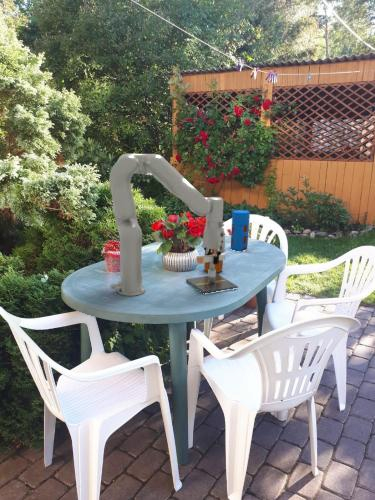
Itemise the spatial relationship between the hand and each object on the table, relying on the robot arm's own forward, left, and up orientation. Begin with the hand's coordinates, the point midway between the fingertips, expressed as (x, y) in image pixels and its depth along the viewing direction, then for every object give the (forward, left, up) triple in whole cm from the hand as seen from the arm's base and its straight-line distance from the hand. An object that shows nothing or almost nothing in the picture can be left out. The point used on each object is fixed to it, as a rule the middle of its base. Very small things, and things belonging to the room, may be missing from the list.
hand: (212, 262), depth 175 cm
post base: (0, 0, -11) cm, 11 cm away
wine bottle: (+12, +19, -12) cm, 25 cm away
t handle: (-1, 0, -3) cm, 3 cm away
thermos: (+49, +50, -12) cm, 71 cm away
